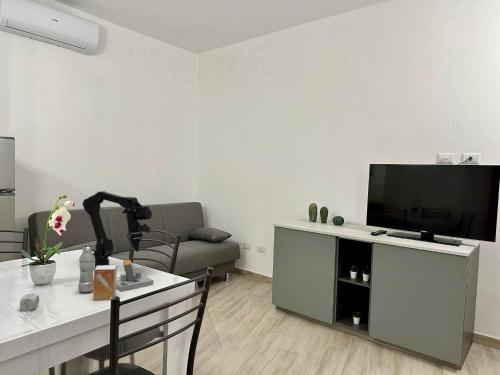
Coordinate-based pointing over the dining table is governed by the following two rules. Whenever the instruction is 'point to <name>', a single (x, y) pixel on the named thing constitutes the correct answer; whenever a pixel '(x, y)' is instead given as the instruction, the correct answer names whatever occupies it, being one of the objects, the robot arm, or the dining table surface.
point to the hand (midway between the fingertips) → (136, 250)
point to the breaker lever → (128, 271)
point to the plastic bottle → (86, 270)
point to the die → (29, 302)
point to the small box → (105, 282)
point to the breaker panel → (138, 283)
